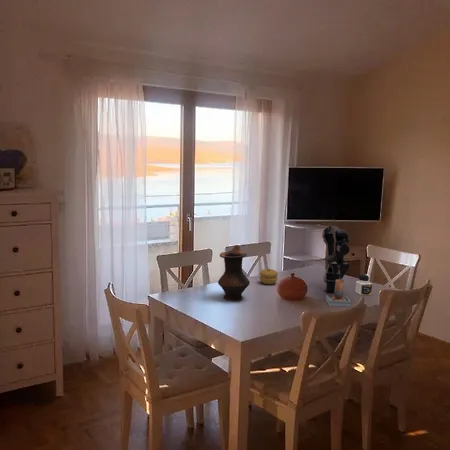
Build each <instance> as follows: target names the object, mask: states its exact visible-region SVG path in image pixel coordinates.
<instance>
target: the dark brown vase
mask: <svg viewBox="0 0 450 450" xmlns="http://www.w3.org/2000/svg"><path fill="white" fill-rule="evenodd" d="M247 256H248V254H247V253H246V252H244V251H242V250H241V248H240V245H239V244H235V245H234V246H233V247H232V249H231V250H228V251H224V252H220V254H219V257H220V258H223V260H224V261H223V262H224V272H223V274H222V275H221V277H219V278H218V279H219V280H218V281H217V284H218V285H219V287H220V288H221V289H222V290H223V292H224V295H223V299H224V300H226V301H240V300H243V295H242V294H243V292H244V291H245V290H246V289H247V287H248V286H250V284H251V283H250V280H249V278H248V277H247V276H246V274H245V273H244V272H243V259H244V257H247Z"/></svg>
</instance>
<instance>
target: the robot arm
mask: <svg viewBox="0 0 450 450" xmlns="http://www.w3.org/2000/svg"><path fill="white" fill-rule="evenodd" d="M321 235H322V236H321V237H322V240H323V243H324V244H325V246H326V256H325V257H323V258H324V261H325V264H327V268H326V270H325V273H324V276H323V282H324V283H325V289H323V291H324V292H326V294H331V293H333V294H334V292H335V284H336V280H337V279H341V280H343V278H344V277H345V275H346V273H347V272H348V270H350V269H351V265H350V263H348V262H346V260H345V256H346V255H348V254H349V252H350V247H349V246H348V245H347V244H349V241H350V237H349V233H348V231H347V230H346V229H341V228H340V227H338V225H336V224H328V225H327V227H326V228H324V229H323V230H322V234H321Z"/></svg>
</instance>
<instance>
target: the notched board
mask: <svg viewBox="0 0 450 450" xmlns="http://www.w3.org/2000/svg"><path fill="white" fill-rule="evenodd" d="M333 297H334V296H333ZM333 297H330V296H329V294H326V295H325V301H326V303H327V304H328V306H329V307H345V308H347V307H350V308H351V305H352V301H351V300H350V299H349V297H348V296H347V295H344V297H343V298H344V301H333V300H332V299H333Z"/></svg>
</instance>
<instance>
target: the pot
mask: <svg viewBox="0 0 450 450" xmlns="http://www.w3.org/2000/svg"><path fill="white" fill-rule="evenodd" d="M278 274H279V273H278V271H276V270H275V269H270V268H264V269H262V270H261V271H260V272H259V275H260V276H258V277H259V280H260V282H261V283H262V284H264V285H273V284H274V285H275V284H276V282H277V281H278Z"/></svg>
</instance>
